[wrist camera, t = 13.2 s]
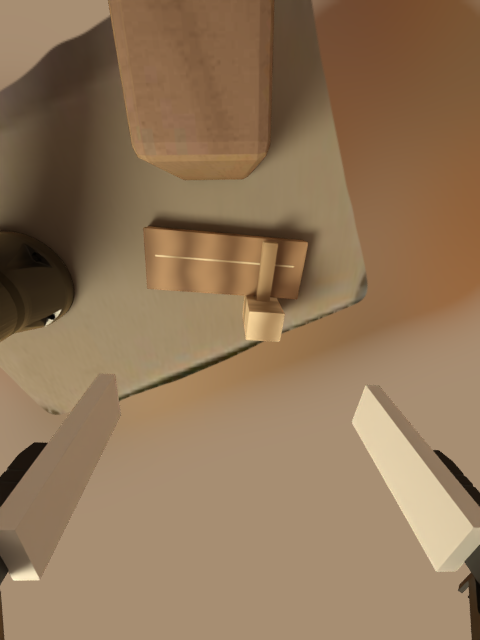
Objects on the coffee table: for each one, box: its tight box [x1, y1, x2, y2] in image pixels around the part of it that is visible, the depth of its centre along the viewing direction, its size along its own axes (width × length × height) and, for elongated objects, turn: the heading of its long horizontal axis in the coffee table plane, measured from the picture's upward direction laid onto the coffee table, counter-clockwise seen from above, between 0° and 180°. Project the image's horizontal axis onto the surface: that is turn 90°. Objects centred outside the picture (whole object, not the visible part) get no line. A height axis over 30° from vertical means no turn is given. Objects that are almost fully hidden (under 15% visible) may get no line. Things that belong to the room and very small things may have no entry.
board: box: [143, 226, 308, 299], centre depth 40 cm, size 24×9×2 cm, turn 85°
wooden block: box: [108, 0, 274, 180], centre depth 25 cm, size 10×10×20 cm
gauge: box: [243, 241, 285, 342], centre depth 39 cm, size 5×14×9 cm, turn 175°
